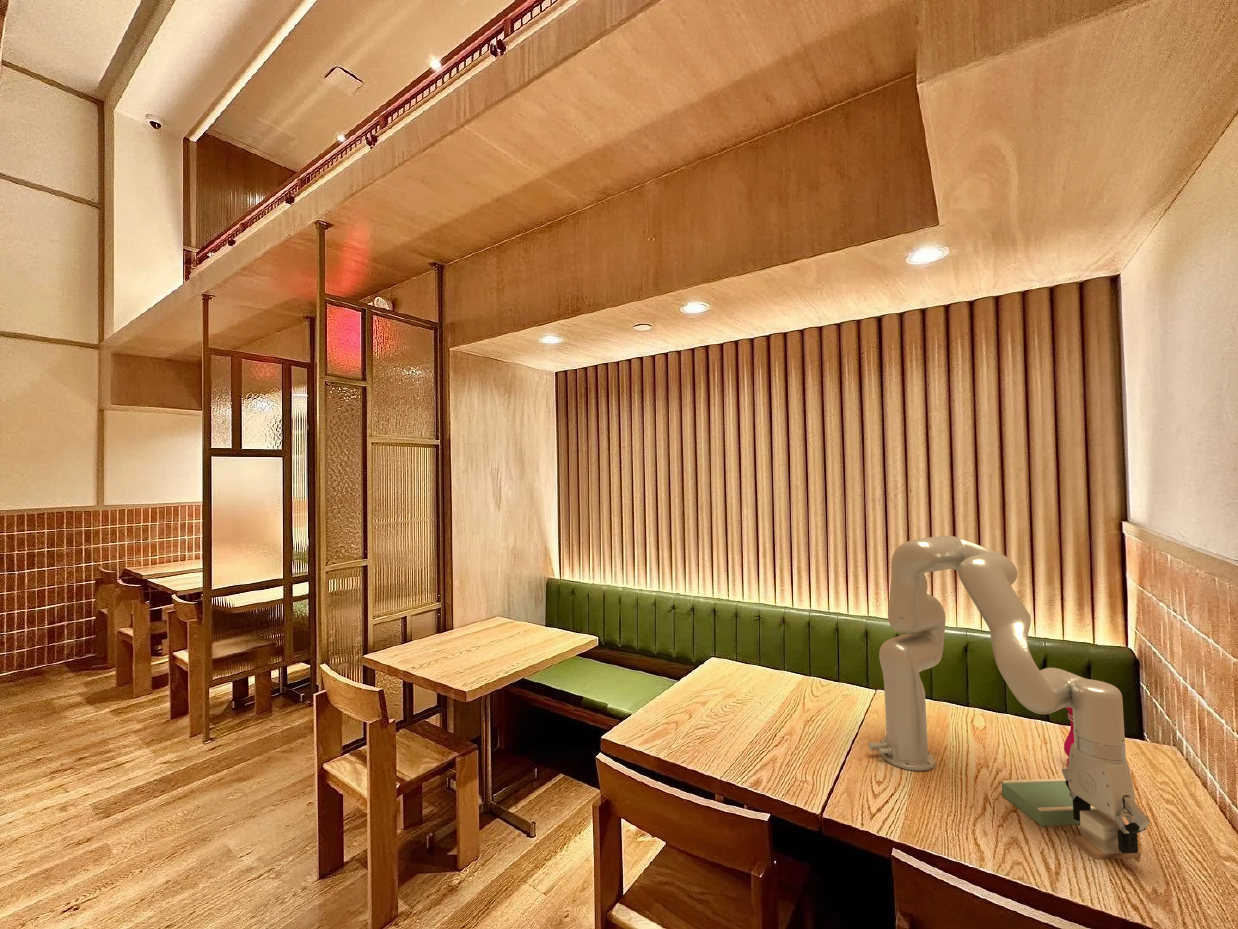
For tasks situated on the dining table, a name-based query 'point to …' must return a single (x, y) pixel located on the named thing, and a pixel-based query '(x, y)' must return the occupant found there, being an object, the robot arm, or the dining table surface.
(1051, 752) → the dining table surface
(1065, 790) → the dock
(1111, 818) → the butter dish
